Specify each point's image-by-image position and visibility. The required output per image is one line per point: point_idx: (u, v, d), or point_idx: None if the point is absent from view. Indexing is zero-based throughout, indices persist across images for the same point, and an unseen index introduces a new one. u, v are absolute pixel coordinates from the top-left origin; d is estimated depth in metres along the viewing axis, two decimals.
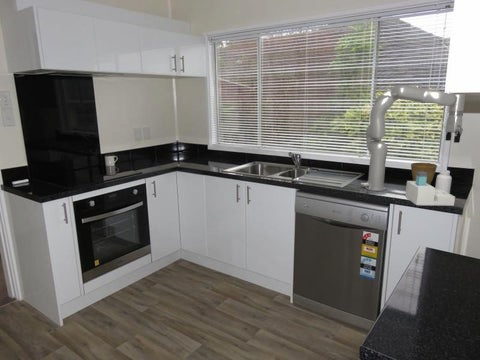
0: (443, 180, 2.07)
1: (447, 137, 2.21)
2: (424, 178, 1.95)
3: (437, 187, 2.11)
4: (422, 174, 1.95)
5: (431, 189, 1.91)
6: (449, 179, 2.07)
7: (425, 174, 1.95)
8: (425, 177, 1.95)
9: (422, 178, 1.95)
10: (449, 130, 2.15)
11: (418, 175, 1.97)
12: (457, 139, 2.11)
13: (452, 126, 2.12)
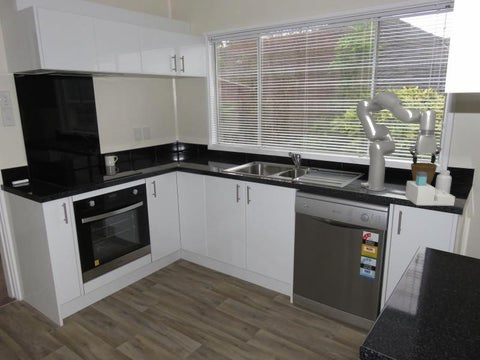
0: (443, 180, 2.07)
1: None
2: (424, 178, 1.95)
3: (437, 187, 2.11)
4: (422, 174, 1.95)
5: (431, 189, 1.91)
6: (449, 179, 2.07)
7: (425, 174, 1.95)
8: (425, 177, 1.95)
9: (422, 178, 1.95)
10: (428, 151, 1.91)
11: (418, 175, 1.97)
12: None
13: (433, 146, 1.90)
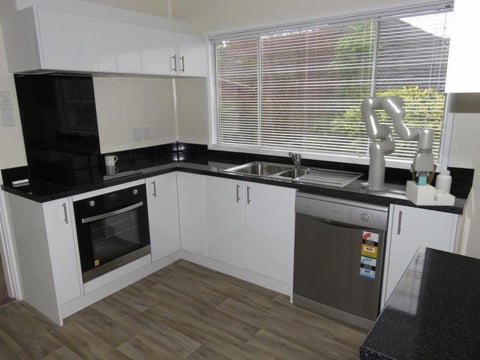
0: (443, 180, 2.07)
1: None
2: (424, 178, 1.95)
3: (437, 187, 2.11)
4: (422, 174, 1.95)
5: (431, 189, 1.91)
6: (449, 179, 2.07)
7: (425, 174, 1.95)
8: (425, 177, 1.95)
9: (422, 178, 1.95)
10: (425, 169, 1.93)
11: (418, 175, 1.97)
12: None
13: (430, 164, 1.93)
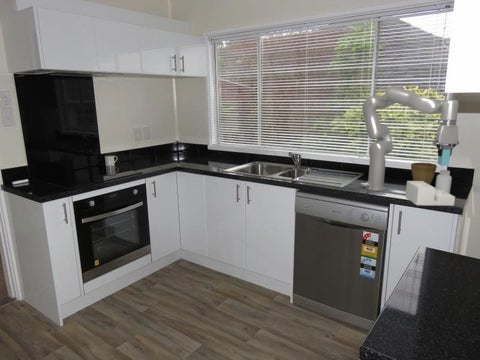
0: (443, 180, 2.07)
1: None
2: (448, 151, 1.91)
3: (437, 187, 2.11)
4: (446, 147, 1.90)
5: (431, 189, 1.91)
6: (449, 179, 2.07)
7: (449, 147, 1.90)
8: (449, 150, 1.91)
9: (446, 151, 1.91)
10: (449, 142, 1.89)
11: (442, 148, 1.92)
12: None
13: (455, 137, 1.88)
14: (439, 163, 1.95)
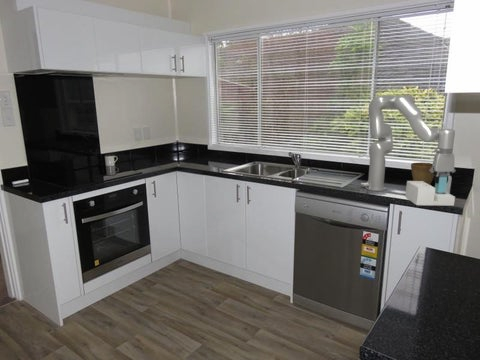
0: None
1: None
2: (444, 178, 1.94)
3: None
4: (442, 174, 1.94)
5: (431, 189, 1.91)
6: (449, 179, 2.07)
7: (445, 174, 1.94)
8: (445, 177, 1.94)
9: (442, 179, 1.95)
10: (446, 170, 1.92)
11: None
12: None
13: (451, 165, 1.92)
14: (436, 190, 1.99)
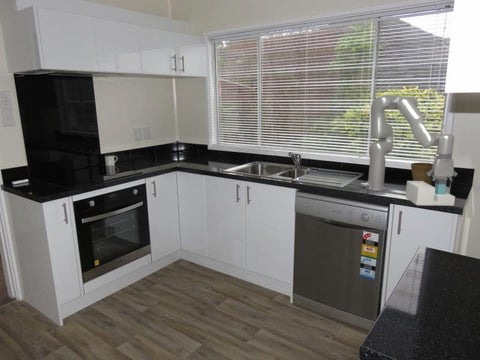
0: None
1: None
2: (443, 186, 1.96)
3: None
4: (441, 182, 1.95)
5: (431, 189, 1.91)
6: None
7: (444, 182, 1.95)
8: (444, 185, 1.95)
9: (441, 186, 1.96)
10: (445, 175, 1.93)
11: (437, 183, 1.97)
12: None
13: (450, 170, 1.92)
14: None
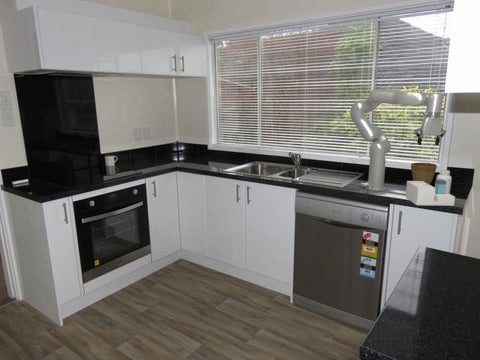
0: None
1: None
2: (443, 186, 1.96)
3: None
4: (441, 182, 1.95)
5: (431, 189, 1.91)
6: (449, 179, 2.07)
7: (444, 182, 1.95)
8: (444, 185, 1.95)
9: (441, 186, 1.96)
10: (432, 133, 1.98)
11: (437, 183, 1.97)
12: None
13: (438, 129, 1.97)
14: None
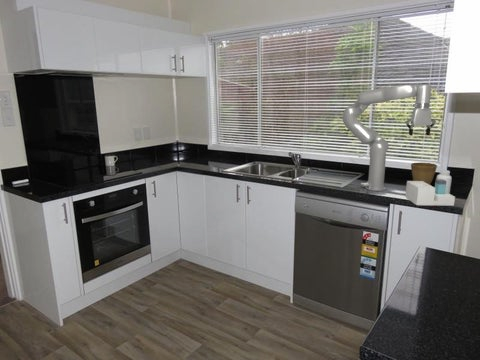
0: None
1: None
2: (443, 186, 1.96)
3: None
4: (441, 182, 1.95)
5: (431, 189, 1.91)
6: (449, 179, 2.07)
7: (444, 182, 1.95)
8: (444, 185, 1.95)
9: (441, 186, 1.96)
10: (423, 123, 2.04)
11: (437, 183, 1.97)
12: None
13: (428, 119, 2.03)
14: None
